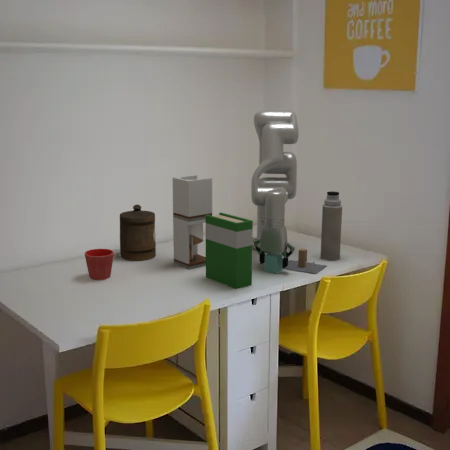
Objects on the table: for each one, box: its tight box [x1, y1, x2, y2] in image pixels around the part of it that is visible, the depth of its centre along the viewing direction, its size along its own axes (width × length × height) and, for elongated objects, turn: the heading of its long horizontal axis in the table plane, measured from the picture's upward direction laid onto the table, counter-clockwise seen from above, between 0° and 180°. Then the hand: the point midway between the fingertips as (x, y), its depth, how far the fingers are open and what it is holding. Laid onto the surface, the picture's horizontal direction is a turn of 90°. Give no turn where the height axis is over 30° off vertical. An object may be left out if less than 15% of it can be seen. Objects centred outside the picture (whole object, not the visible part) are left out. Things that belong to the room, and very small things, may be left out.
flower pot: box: [84, 248, 115, 281], centre depth 235 cm, size 11×11×10 cm
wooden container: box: [119, 204, 157, 262], centre depth 262 cm, size 15×15×22 cm
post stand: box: [282, 248, 327, 275], centre depth 249 cm, size 16×12×7 cm
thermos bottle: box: [320, 191, 343, 262], centre depth 260 cm, size 8×8×28 cm
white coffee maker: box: [172, 174, 213, 270], centre depth 250 cm, size 11×11×35 cm
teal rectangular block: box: [263, 252, 284, 274], centre depth 244 cm, size 5×5×7 cm
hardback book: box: [205, 212, 254, 290], centre depth 230 cm, size 18×7×24 cm, turn 40°
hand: (273, 265), depth 245 cm, fingers open, 9 cm apart
